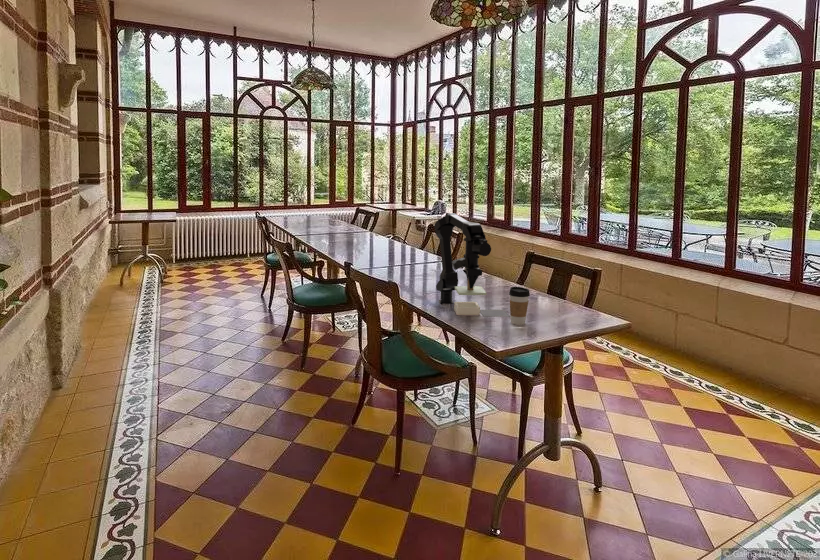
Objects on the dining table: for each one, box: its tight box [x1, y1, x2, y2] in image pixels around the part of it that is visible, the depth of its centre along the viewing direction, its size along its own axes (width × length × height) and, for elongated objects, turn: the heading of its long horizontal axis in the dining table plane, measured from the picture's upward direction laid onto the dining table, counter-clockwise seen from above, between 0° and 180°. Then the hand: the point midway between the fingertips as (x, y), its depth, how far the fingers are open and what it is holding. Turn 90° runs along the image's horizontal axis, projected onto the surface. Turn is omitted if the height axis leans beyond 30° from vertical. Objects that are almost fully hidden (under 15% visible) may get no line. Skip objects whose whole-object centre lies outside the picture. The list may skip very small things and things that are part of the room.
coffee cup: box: [508, 286, 531, 326], centre depth 221 cm, size 8×8×15 cm
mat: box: [480, 309, 510, 318], centre depth 237 cm, size 12×12×1 cm
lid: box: [454, 279, 488, 296], centre depth 235 cm, size 12×12×6 cm
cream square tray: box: [453, 301, 481, 317], centre depth 237 cm, size 10×10×4 cm
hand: (470, 287), depth 235 cm, fingers closed on lid, 3 cm apart
